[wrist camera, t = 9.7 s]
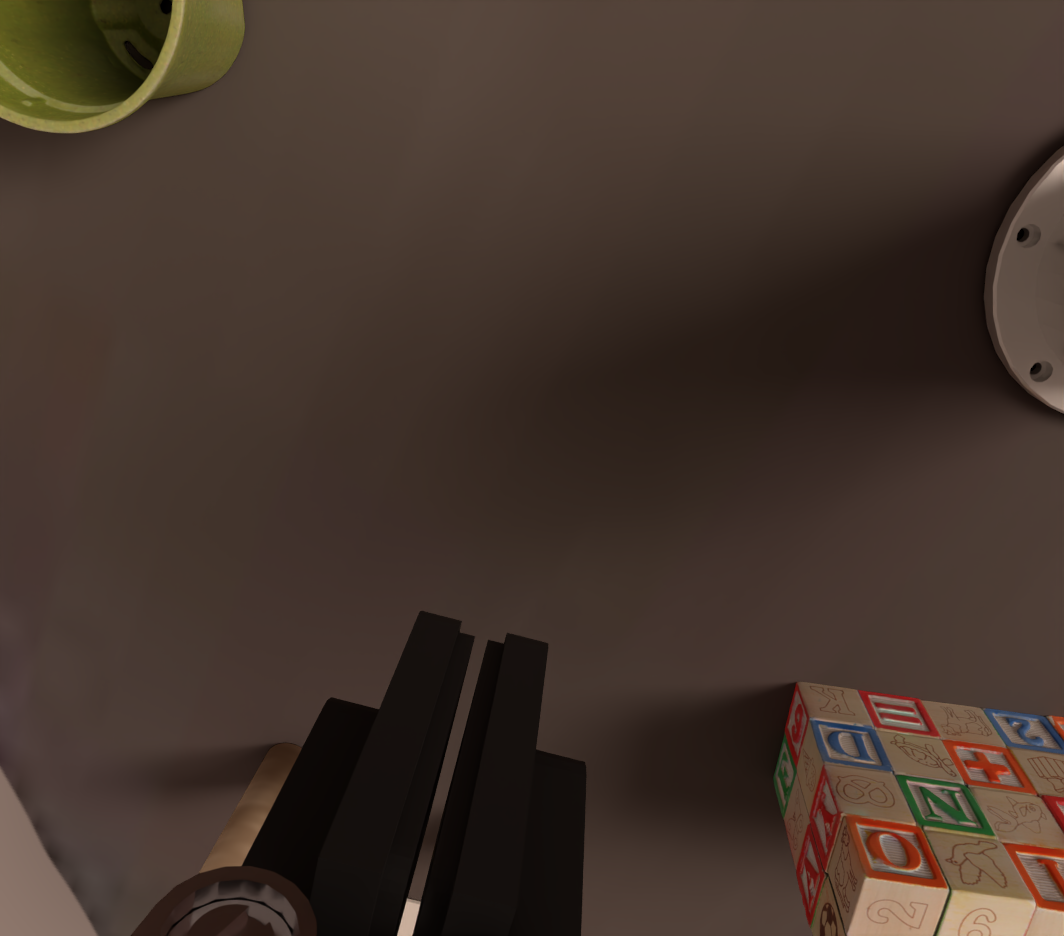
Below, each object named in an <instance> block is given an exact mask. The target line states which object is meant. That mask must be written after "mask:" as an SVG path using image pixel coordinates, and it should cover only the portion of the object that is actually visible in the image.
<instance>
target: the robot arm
mask: <svg viewBox="0 0 1064 936" xmlns="http://www.w3.org/2000/svg"><path fill="white" fill-rule="evenodd" d="M1021 228H1022V229H1023V230H1024V236H1023V237H1022V238H1021V239H1020V240H1018V241H1017V240H1016V239H1017V234H1018V232H1019V231H1020V229H1021ZM984 305H985V314H986V323H987V328H988V331H989V334H990V337H991V340H992V343H993V345H994V348H995V351H996V353H997V355H998V356H999V358H1000V360H1001V361H1002V363H1003V365H1004V366H1005V368H1006V369H1007V371H1008V373H1009V374H1010V375H1011V376H1012V377H1013V378H1014V379H1015V380H1016V381H1017V382H1018V383H1019V384H1020V385H1021V386H1022V387H1023V388H1024V389H1025V390H1026V391H1027V392H1028V393H1029V394H1030V395H1032V396H1033V397H1035V398H1036V399H1038V400H1040V401H1041V402H1043V403H1044V404H1046V405H1047V406H1049V407H1051V408H1053V409H1055V410H1057V411H1059V412H1061V413H1063V414H1064V146H1063V147H1061V148H1060V149H1059V150H1057V151H1056V152H1055V153H1054V154H1053V155H1052V156H1051V157H1050V158H1049V159H1048V160H1047V161H1046V162H1045V163H1044V164H1043V165H1042V166H1041V167H1040V168H1039V169H1038V170H1037V171H1036V172H1035V173H1034V175H1033V176H1032V177H1031V178H1030V179H1029V180H1028V182H1027V183H1026V185H1025V186H1024V187H1023V189H1022V190H1021V192H1020V193H1019V195H1018V196H1017V197H1016V199H1015V200H1014V202H1013V203H1012V204H1011V206H1010V208H1009V210H1008V212H1007V214H1006V216H1005V218H1004V220H1003V222H1002V224H1001V226H1000V228H999V230H998V232H997V234H996V236H995V240H994V243H993V247H992V250H991V254H990V257H989V261H988V264H987V267H986V278H985V289H984ZM1035 363H1036V368H1035V369H1034V370H1033V371H1031V372H1030V369H1031V367H1032V366H1033V365H1034V364H1035ZM461 622H462V621H459V620H455V619H451V618H447V617H444V616H440V615H436V614H432V613H428V612H424V611H420V613H419V615H418V617H417V619H416V622H415V624H414V627H413V629H412V631H411V634H410V636H409V639H408V641H407V644H406V646H405V648H404V651H403V653H402V656H401V658H400V661H399V663H398V665H397V668H396V670H395V673H394V675H393V678H392V680H391V682H390V685H389V687H388V690H387V692H386V695H385V697H384V699H383V702H382V704H381V707H380V709H375V708H371V707H367V706H363V705H359V704H355V703H351V702H348V701H344V700H340V699H336V698H332V697H331V698H330V699H328V700H327V702H326V704H325V705H324V707H323V709H322V711H321V713H320V714H319V716H318V718H317V720H316V722H315V724H314V726H313V728H312V730H311V732H310V734H309V736H308V738H307V740H306V742H305V744H304V745H303V747H302V749H301V751H300V753H299V755H298V757H297V759H296V761H295V763H294V765H293V767H292V769H291V771H290V773H289V775H288V776H287V778H286V780H285V782H284V784H283V786H282V788H281V790H280V792H279V794H278V796H277V798H276V800H275V802H274V804H273V806H272V807H271V809H270V811H269V813H268V815H267V817H266V819H265V821H264V823H263V825H262V827H261V829H260V831H259V833H258V835H257V837H256V838H255V840H254V842H253V844H252V846H251V848H250V850H249V852H248V854H247V856H246V858H245V860H244V862H243V864H242V866H225V867H221V868H217V869H214V870H210V871H206V872H202V873H199V874H197V875H195V876H193V877H192V878H190V879H188V880H186V881H184V882H182V883H181V884H179V885H177V886H175V887H174V888H173V889H172V890H171V891H170V892H169V893H168V894H167V895H166V896H165V897H163V898H162V899H161V900H160V901H159V902H158V903H157V904H156V905H155V906H154V907H153V909H152V910H151V911H150V912H149V914H148V915H147V916H146V917H145V918H144V920H143V921H142V922H141V923H140V925H139V926H138V927H137V928H136V930H135V931H134V932H133V933H132V934H131V936H397V935H398V931H399V927H400V924H401V920H402V916H403V912H404V909H405V905H406V901H407V898H408V894H409V890H410V886H411V883H412V879H413V875H414V872H415V868H416V864H417V861H418V857H419V853H420V849H421V846H422V842H423V838H424V835H425V831H426V827H427V823H428V820H429V816H430V812H431V808H432V804H433V800H434V796H435V793H436V789H437V785H438V781H439V777H440V773H441V769H442V765H443V761H444V757H445V753H446V749H447V745H448V741H449V737H450V733H451V729H452V725H453V721H454V717H455V714H456V710H457V706H458V702H459V698H460V694H461V690H462V686H463V682H464V678H465V674H466V670H467V666H468V662H469V658H470V654H471V650H472V646H473V642H474V638H475V636H471V635H468V634H464V633H460V627H461ZM547 653H548V643H545V642H541V641H537V640H533V639H529V638H525V637H522V636H518V635H514V634H510V633H507V635H506V638H505V642H504V644H503V643H499V642H495V641H491V640H488V642H487V646H486V650H485V654H484V658H483V662H482V665H481V669H480V673H479V677H478V681H477V685H476V688H475V692H474V696H473V700H472V704H471V708H470V711H469V715H468V719H467V723H466V727H465V731H464V735H463V738H462V742H461V746H460V750H459V754H458V758H457V761H456V765H455V769H454V773H453V777H452V781H451V784H450V788H449V792H448V796H447V800H446V804H445V808H444V811H443V815H442V819H441V823H440V827H439V831H438V835H437V839H436V843H435V847H434V851H433V855H432V859H431V863H430V867H429V871H428V875H427V879H426V883H425V887H424V891H423V895H422V899H421V903H420V907H419V911H418V915H417V919H416V923H415V927H414V931H413V935H412V936H581V919H582V889H583V859H584V830H585V800H586V765H585V762H582V761H578V760H574V759H571V758H567V757H563V756H559V755H555V754H551V753H547V752H543V751H539V750H536V744H537V736H538V727H539V719H540V711H541V702H542V694H543V686H544V678H545V669H546V661H547Z"/></svg>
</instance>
